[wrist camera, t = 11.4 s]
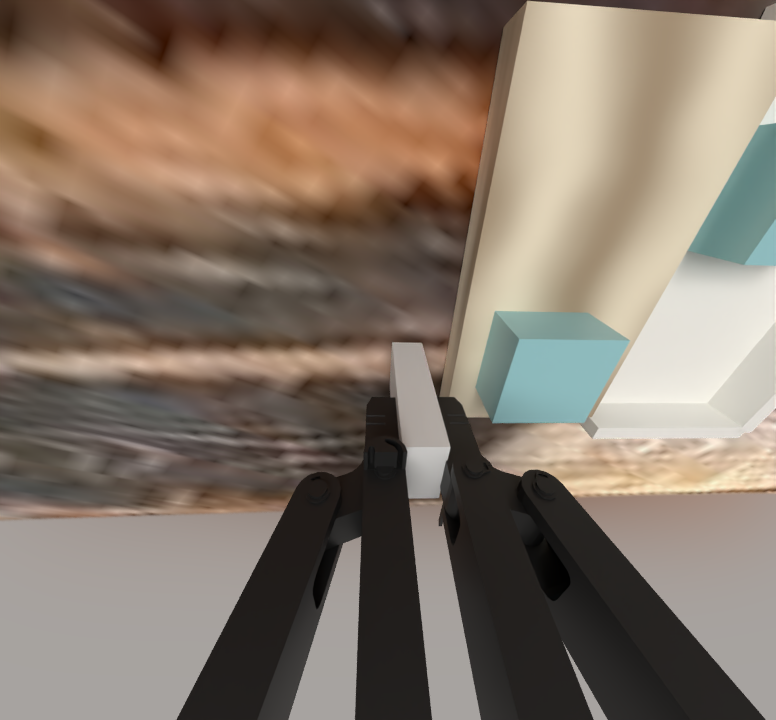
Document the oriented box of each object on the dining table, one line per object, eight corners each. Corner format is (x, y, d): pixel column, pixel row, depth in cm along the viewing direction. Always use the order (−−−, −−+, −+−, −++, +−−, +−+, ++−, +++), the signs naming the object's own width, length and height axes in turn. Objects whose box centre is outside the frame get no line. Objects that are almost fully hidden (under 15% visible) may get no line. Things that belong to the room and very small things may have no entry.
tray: (566, 407, 22) (592, 438, 19) (766, 7, 11) (885, -43, 8) (703, 407, 22) (745, 437, 20) (1022, 28, 11) (1205, -13, 9)
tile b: (475, 387, 18) (492, 423, 15) (494, 310, 15) (519, 339, 12) (554, 387, 18) (584, 422, 15) (588, 312, 15) (630, 340, 13)
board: (439, 397, 21) (445, 417, 19) (503, 27, 11) (527, 1, 9) (574, 397, 21) (592, 417, 19) (752, 45, 11) (817, 23, 10)
